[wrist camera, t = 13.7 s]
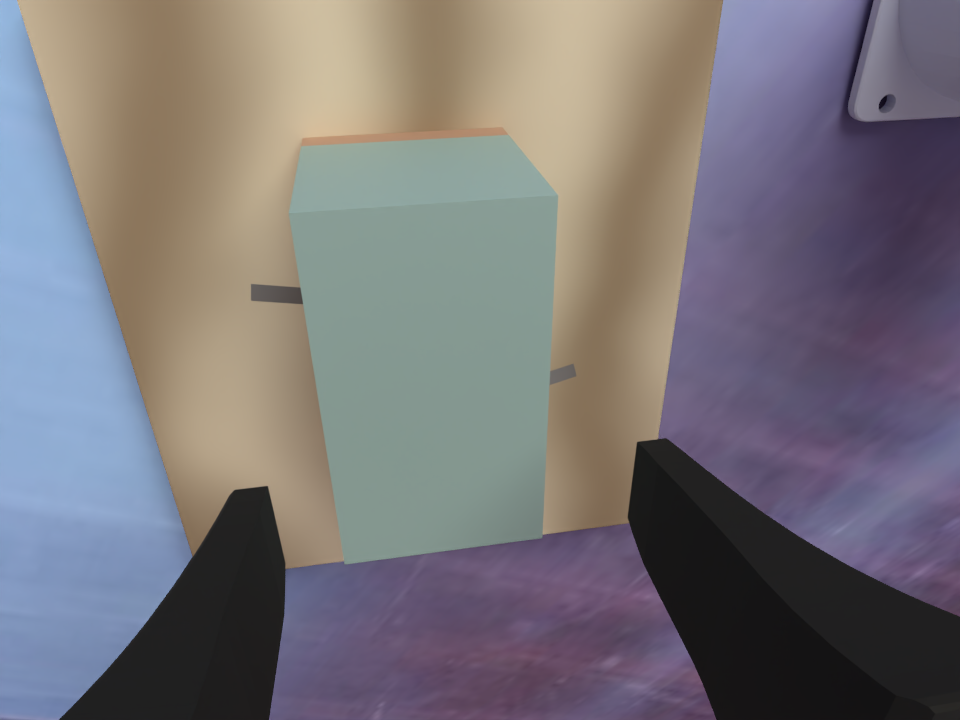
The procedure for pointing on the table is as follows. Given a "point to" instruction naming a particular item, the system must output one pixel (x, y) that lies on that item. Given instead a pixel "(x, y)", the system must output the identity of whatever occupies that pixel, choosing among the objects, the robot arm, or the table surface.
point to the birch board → (359, 111)
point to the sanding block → (428, 334)
